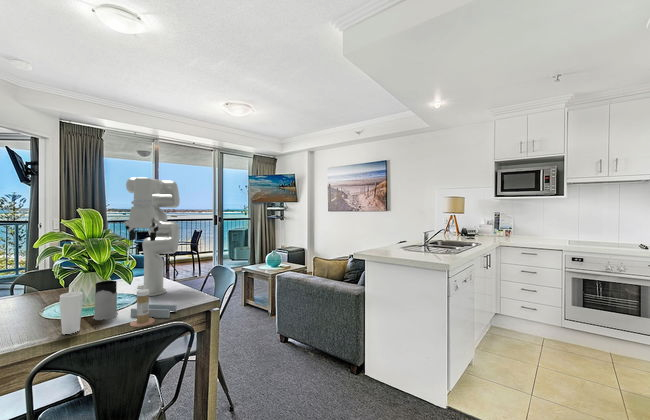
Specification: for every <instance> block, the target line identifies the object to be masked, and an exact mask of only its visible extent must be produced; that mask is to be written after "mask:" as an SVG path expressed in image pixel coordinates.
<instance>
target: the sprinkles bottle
mask: <svg viewBox="0 0 650 420" xmlns="http://www.w3.org/2000/svg"><path fill="white" fill-rule="evenodd" d="M149 301H150V296H149V289H137V290H136V309H137V317H136V319H137V323H145V322H147V321H149V318H150V317H149V304H150V302H149Z"/></svg>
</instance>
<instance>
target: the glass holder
mask: <svg viewBox="0 0 650 420" xmlns="http://www.w3.org/2000/svg"><path fill="white" fill-rule="evenodd" d="M117 284H118V283H117V280H103V281H99V282H95V287H94V288H95V290H94V291H95V294H94V315H93V318H92V319H93V320H94V319H95V321H104V320H103V319H105V320H110V319H113V318H116V317H117V316H118V315H119V313H118V310H117V307H118V306H117V303H118V301H117V300H118V298H117V297H118V292H117V287H118V286H117ZM109 318H110V319H109Z"/></svg>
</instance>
